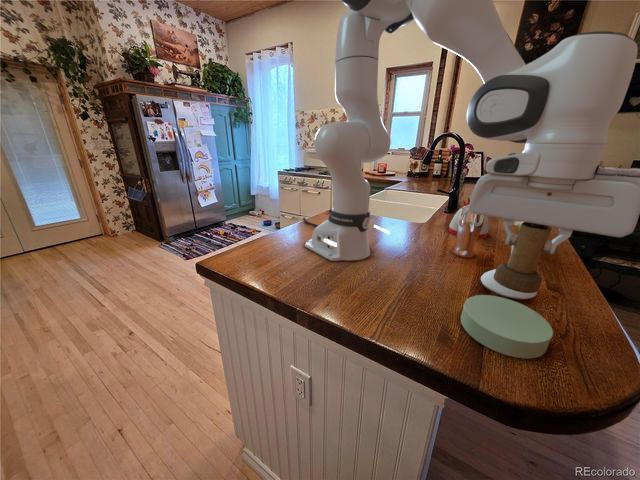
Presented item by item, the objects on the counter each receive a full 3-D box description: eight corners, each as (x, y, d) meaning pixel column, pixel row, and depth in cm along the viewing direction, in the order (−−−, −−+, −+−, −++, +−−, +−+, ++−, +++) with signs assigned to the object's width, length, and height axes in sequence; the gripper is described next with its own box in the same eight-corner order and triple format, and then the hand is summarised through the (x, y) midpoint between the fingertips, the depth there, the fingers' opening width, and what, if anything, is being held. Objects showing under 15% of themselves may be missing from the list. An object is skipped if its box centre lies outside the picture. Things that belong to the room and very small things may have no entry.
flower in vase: (475, 275, 70) (500, 184, 61) (525, 283, 67) (559, 187, 57) (484, 301, 59) (516, 194, 50) (545, 313, 55) (591, 199, 46)
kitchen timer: (487, 241, 94) (498, 201, 89) (446, 234, 101) (454, 196, 96) (487, 230, 106) (496, 194, 100) (450, 225, 112) (457, 190, 107)
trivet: (452, 332, 50) (455, 317, 48) (469, 300, 59) (472, 287, 58) (545, 373, 41) (552, 356, 40) (547, 328, 51) (553, 313, 50)
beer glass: (478, 259, 80) (490, 213, 75) (454, 257, 81) (464, 211, 76) (470, 250, 87) (481, 207, 81) (448, 248, 88) (457, 205, 82)
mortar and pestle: (489, 282, 46) (522, 182, 40) (498, 270, 51) (529, 178, 44) (534, 298, 42) (581, 189, 35) (540, 284, 46) (582, 184, 39)
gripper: (657, 167, 35) (613, 259, 40) (484, 159, 47) (467, 230, 52) (672, 171, 30) (620, 274, 35) (476, 161, 43) (459, 238, 48)
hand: (528, 247), depth 44 cm, fingers closed on mortar and pestle, 4 cm apart
